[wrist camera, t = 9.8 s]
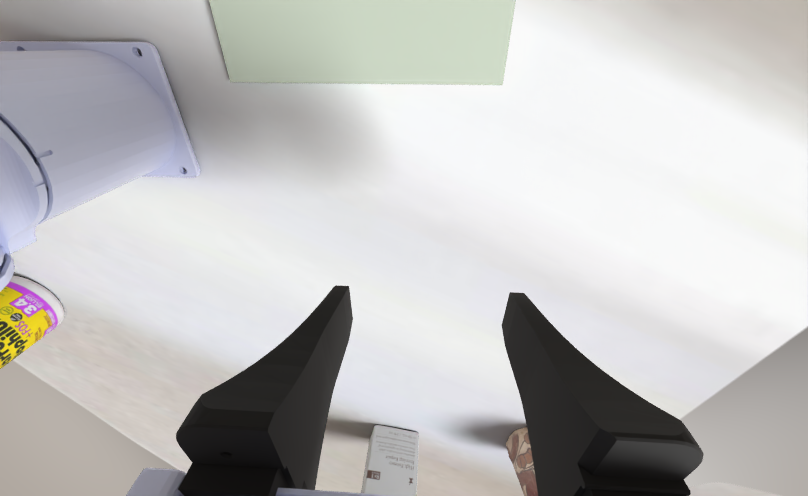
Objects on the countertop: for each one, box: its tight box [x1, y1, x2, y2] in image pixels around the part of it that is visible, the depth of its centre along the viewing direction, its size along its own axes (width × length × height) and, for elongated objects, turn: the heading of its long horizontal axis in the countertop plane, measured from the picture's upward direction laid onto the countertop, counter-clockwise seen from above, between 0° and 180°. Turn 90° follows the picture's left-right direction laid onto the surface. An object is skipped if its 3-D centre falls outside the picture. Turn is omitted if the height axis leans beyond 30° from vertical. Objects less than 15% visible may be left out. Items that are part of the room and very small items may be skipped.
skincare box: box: [361, 425, 419, 496], centre depth 36 cm, size 6×4×12 cm
